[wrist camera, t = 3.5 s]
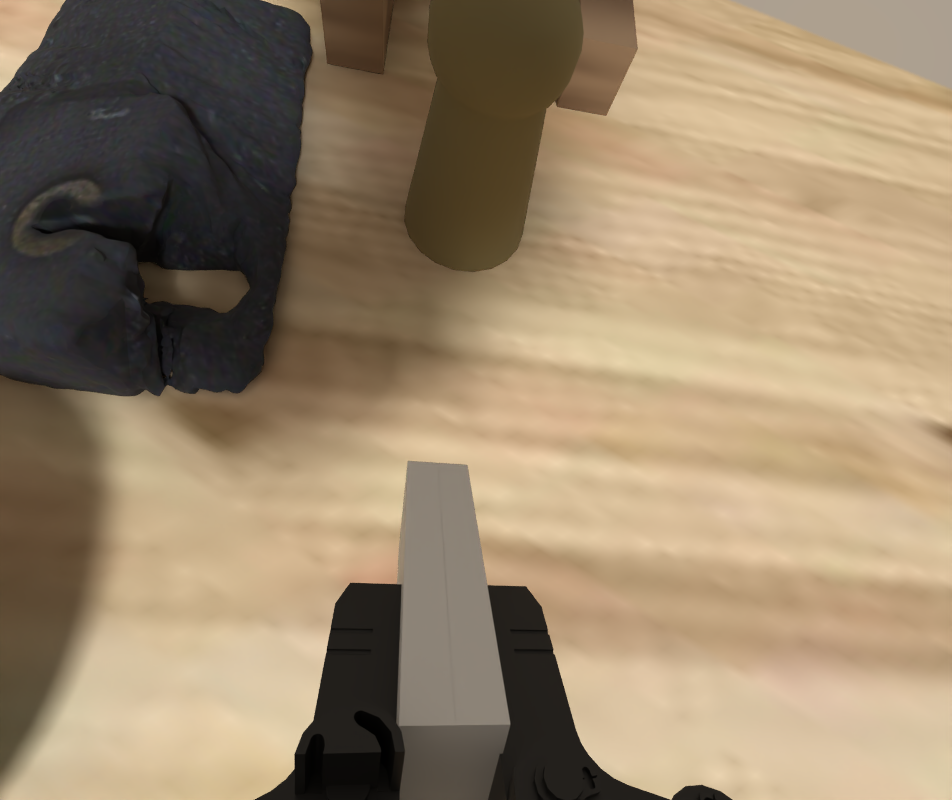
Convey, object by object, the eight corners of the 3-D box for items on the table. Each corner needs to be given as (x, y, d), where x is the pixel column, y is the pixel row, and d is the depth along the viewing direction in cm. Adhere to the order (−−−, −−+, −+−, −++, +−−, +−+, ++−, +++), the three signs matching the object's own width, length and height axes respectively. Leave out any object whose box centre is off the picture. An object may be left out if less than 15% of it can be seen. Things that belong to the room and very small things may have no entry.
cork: (384, 189, 25) (385, -76, 15) (490, 161, 27) (553, -93, 17) (435, 287, 24) (473, 67, 14) (543, 251, 26) (647, 33, 16)
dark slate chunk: (361, 62, 29) (357, -33, 24) (252, 428, 21) (216, 386, 16) (73, -10, 27) (12, -126, 23) (-166, 359, 19) (-332, 292, 15)
